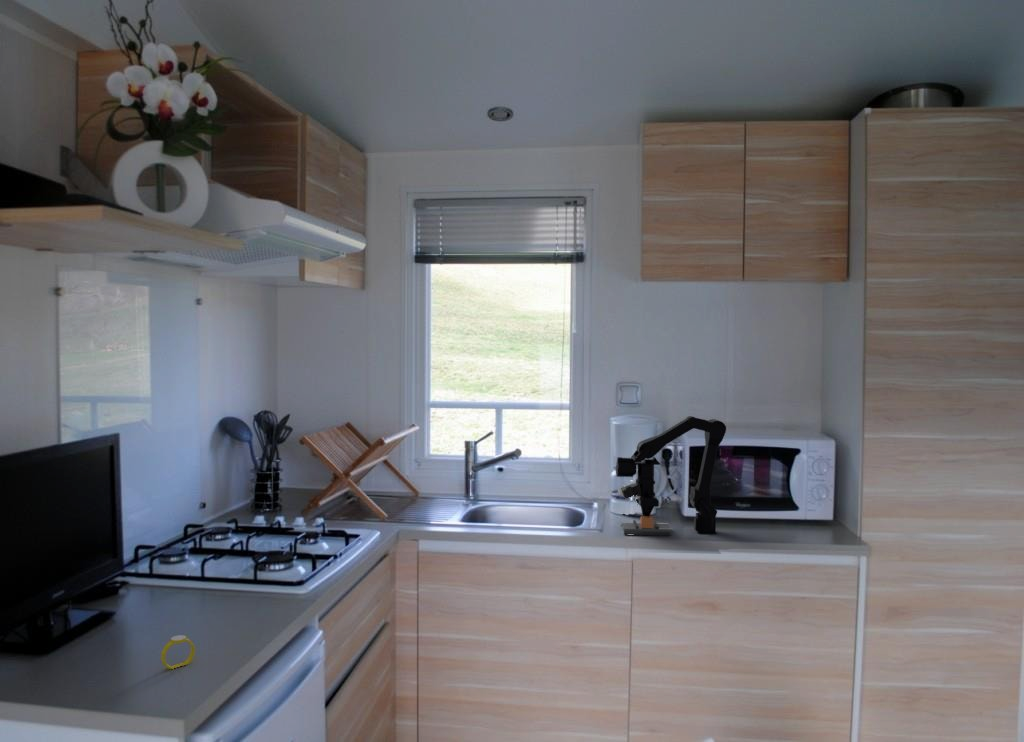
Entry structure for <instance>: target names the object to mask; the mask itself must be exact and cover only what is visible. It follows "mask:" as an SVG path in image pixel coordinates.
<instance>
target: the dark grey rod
mask: <svg viewBox="0 0 1024 742" xmlns="http://www.w3.org/2000/svg"><path fill="white" fill-rule="evenodd" d="M624 534H634V535H633V536H640V535H648V537H649V536H650V537H657V536H658V537H659V536H660V537H670V536H671V535H670V532H624V533H623V535H624Z"/></svg>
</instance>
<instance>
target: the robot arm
mask: <svg viewBox="0 0 1024 742" xmlns="http://www.w3.org/2000/svg"><path fill="white" fill-rule="evenodd" d="M693 429H695V430H699V431H703V432H704V441H705V442H704V443H705V445H704V450H703V453H702V454H703V455H702V460H701V464H700V470H699V473H698V474H699V475H698V480H697V483H696V485H695V486H692V485H691V486H690V491H689V492H690V493H689V495H688V496H687V497H688V498H689V503H690V504H691V506H692V507H693V508H694V509H695V511H696V512H695V517H694V518H693V521H694V522H693V529H694V530H695V532H697V534H700V535H701V534H707V535H708V534H709V535H712V534H713V535H714V534H715V535H716V534H718V531H716V527H717V526H716V525H717V524H716V522H717V521H716V520H717V519H716V517H717V514H718V510H717V509H715V507H714V506H713V505H712V495H711V494H712V491H711V483H712V479H713V474H714V469H715V463H716V460H717V454H718V450H719V446H720V445H721V443H722V442H723V440H724V437H725V434H726V433H727V425H725V423H724V422H723V421H721V420H719V419H716V418H712V419H708V420H706V419H704V418H700V417H699V418H698V417H695V416H693V415H689V416H687V417H685V419H682V420H681V421H679V422H678V423H676V424H674V425H673V426H672V427H669V428H668V429H666V430H665V431H663V432H660V433H659V434H657V435H655V436H652V437H649V438H646V439H643V440H641V441H639V442H638V443H637V444H636V445H637V446H636V450H635V451H634V453H633V454H632V455H631V456H630V457H622V456H621V457H619V456H618V457H616V465H615V475H616V477H618V478H633V477H634V476H636V475H637V478H636V479H635V483H631V484H627V485H625V487H624V486H621V487H622V488H621V491H622V493H623V496H624V498H625V499H626V498H629V497H631V496H633V495H634V497H636V495H637V496H638V499H636V501H637V503H638V504H637V505H639V506H640V509H641V516H650V515H651V513H652V511H653V510H654V509H655V507H657V508H658V507H659V506H660V505H659V504H660V503H659V502H660V501H659V499H658V497H656V492H655V484H656V480H655V466H656V465H657V466H660V465H661V463H660V461H658V459H657V458H656V457H655V456H656V455H657V454H658V453H659V452H660V451H661V450H662V449H663V448H664V447H665V446H666V445H667V444H670V443H671V442H672V441H675V440H676V439H678V438H679V437H681V436H683V435H685V434H686V433H688V432H690V431H691V430H693Z"/></svg>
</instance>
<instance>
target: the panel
mask: <svg viewBox="0 0 1024 742" xmlns="http://www.w3.org/2000/svg"><path fill="white" fill-rule="evenodd" d="M669 524H670V523H668V522H667V523H666V522H665V523H664V522H657V521H656V520H653V528H641V522H640V523H639V522H637V520H635V519H634V520H632V522H621V523H620V527H622V529H621V531H622V530H623V531H622V533H623V532H670V536H672V530H673V528H672V527H670V526H669Z"/></svg>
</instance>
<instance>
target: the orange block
mask: <svg viewBox="0 0 1024 742" xmlns="http://www.w3.org/2000/svg"><path fill="white" fill-rule="evenodd" d="M653 521H654V517H653V516H643V515H641V516H640V523H641V528H653Z"/></svg>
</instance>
